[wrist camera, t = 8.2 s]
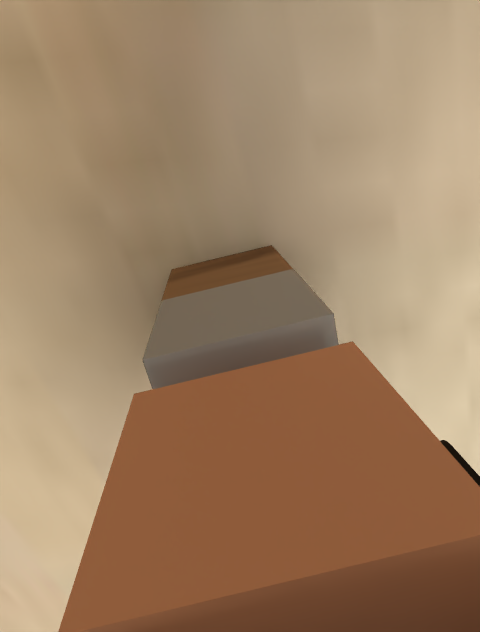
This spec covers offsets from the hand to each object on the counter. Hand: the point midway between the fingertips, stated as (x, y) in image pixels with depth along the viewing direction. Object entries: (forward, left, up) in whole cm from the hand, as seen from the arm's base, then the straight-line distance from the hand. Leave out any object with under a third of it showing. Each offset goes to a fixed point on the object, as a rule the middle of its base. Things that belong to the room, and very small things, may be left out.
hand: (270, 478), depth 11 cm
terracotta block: (0, 0, -1) cm, 1 cm away
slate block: (0, 0, -9) cm, 9 cm away
